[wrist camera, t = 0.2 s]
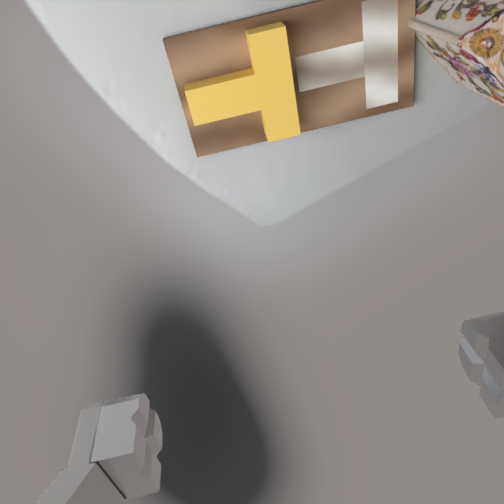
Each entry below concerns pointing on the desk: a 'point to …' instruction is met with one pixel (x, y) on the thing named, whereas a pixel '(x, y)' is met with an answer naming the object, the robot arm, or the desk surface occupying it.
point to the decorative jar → (465, 42)
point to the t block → (252, 87)
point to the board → (307, 65)
